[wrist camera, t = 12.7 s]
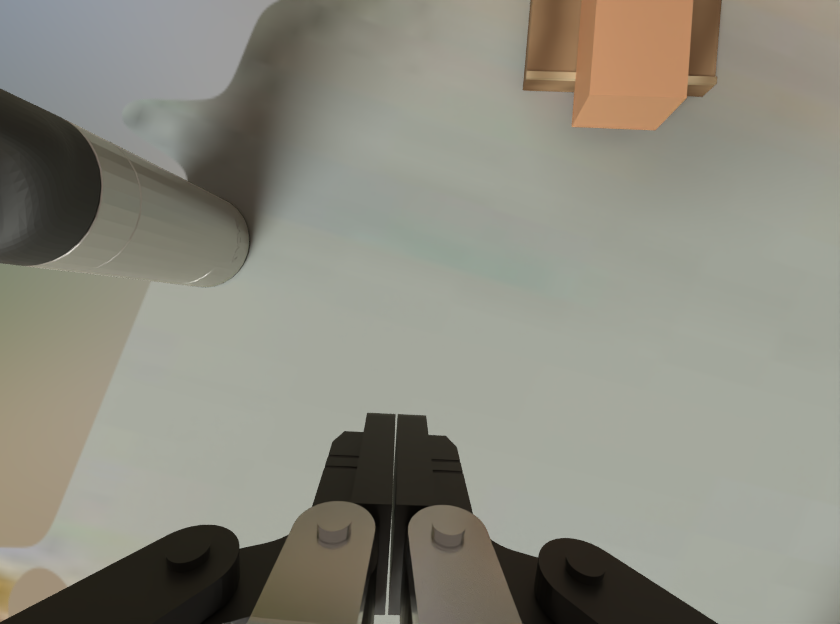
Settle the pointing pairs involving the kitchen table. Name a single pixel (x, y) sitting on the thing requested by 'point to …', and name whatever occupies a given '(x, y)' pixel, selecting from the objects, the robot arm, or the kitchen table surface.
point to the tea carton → (631, 62)
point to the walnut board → (559, 35)
